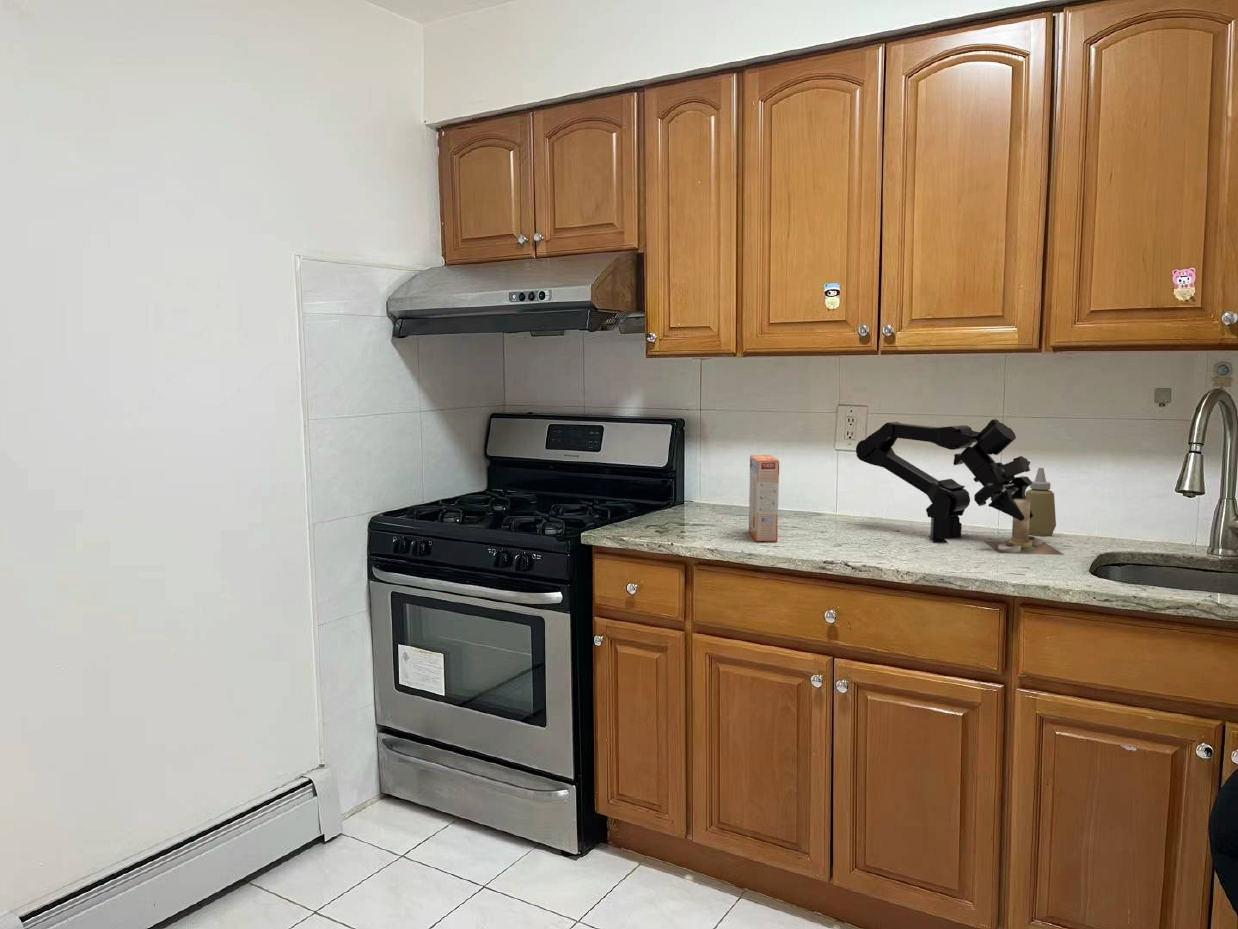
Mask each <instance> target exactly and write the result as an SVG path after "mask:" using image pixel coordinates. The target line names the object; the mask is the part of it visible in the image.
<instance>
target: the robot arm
mask: <svg viewBox="0 0 1238 929" xmlns="http://www.w3.org/2000/svg"><path fill="white" fill-rule="evenodd" d="M1016 436H1017V435H1016V433H1015V432H1014V431H1013V429H1012V428H1011V427H1008V425H1005V424H1004V423H1003V422H1000V421H999V420H998V419H997V418H995V419H991V420H990V421H989V422H988V423H987V425H986V426H985V427H984V428H983V429H982V430H980V431H975V430H973V429H972V427H971V426H969V425H967V424H966V425H965V424H963V425H951V426H950V425H949V426H938V427H937V426H932V425H931V426H930V425H929V426H928V425H921V424H920V425H918V424H911V423H901V422H899V421H891V422H886V423H884V424H883V425H881V427H879V429H877V430H875V431H874V432H873V433H871V434H869V435H868V436H867V437H866V438H865V439H862V440H860V441H859V442H858V443H857V444H856V447H855V452H856V457H857V458H858V460H860V461H861V462H864V463H867V464H869V465H872V466H876V467H880V468H883V469H886V470H887V471H888V472H890V473H892V474H893V475H895V476H896V477H898V478H900V479H901V480H903V481H905V482H906V483H907V484H909V485H910V486H913V487H914V488H915V489H917V490H919V491H921V492H922V493H924V494H925V495H926V496H927V497H928V499H929V501H930V502H931V504H930V505H928V506H927V508H925V511H926V514H927V517H928V518H930V535H928V538H929V540H931V542H932V543H944V544H945V543H946V544H947V543H949V541H947V539H961V538H962V525H963V524H962V522H960V519H961V518H960V517H961V516H963V515H964V512H965V510H966V509H967V508H968V507H969V505H970V502H971V497H970V492H969V491H968V490H967V489H965V488H966V486H965V485H962V484H960V483H958V482H957V481H955V480H954V479H953V478H948V479H941V480H939V479H937V478H935V477H934V476H932V475H930V474H929V473H927V472H926V471H924V470H922V469H920V468H919V467H917V466H916V465H913V464H912V463H910V462H908V461H907V460H906V459H904V458H902V457H900V456H899V455H897V454H896V453H895V451H894V449H893V448H892V447H893V446H894V445H895V443H896V442H897V440H898V439H904V440H910V441H911V440H912V441H918V442H919V441H920V442H928V443H932V444H935V445H936V446H938V447H941V448H944V449H947V450H951V451H954V450H960V449H961V450H962V449H964V450H962V451H961V453H958V452H957V453H954V455H953V456H954V459H953V466H959V465H963V464H964V465H965V467H967V469H968V470H969V471H970V472H971V474H972V475H973V476H974V478H973V481H974V482H975V483H980V484H981V486H983V487H981V488H980V489H979V490H978V491H977V492H975V494H974V496H973V497H974V498H973V499H974V502H975V503H976V504H977V505H978V507H981V506H982V507H983V506H986V505H987V501H988V500H990V501H991V502H990V503H989V504H988V505H987V506H988V507H991V508H993V509H996V510H997V511H1000V512H1002V513H1004V514H1006V515H1008V516H1010V517H1012V518H1013V517H1014V518H1016V519H1018V520H1020V521H1022V520H1024V519H1025V517H1024V515H1023V514H1022V512H1021V511H1020V509H1019V508H1018V506H1017V505H1016V503H1015V502H1014V499H1026V497H1025V494H1026V491H1027V488H1028V487H1030V485H1031V484H1032V480H1031V479H1030V478H1029V476H1025V475H1024V476H1023V475H1021V476H1017V475H1020V474H1022V473H1027V472H1030V471H1031V468H1030V464H1031V462H1030V461H1029V460H1028V458H1026V457H1024V456H1023V455H1021V456H1020V455H1019V456H1018V457H1014V458H1012V459H1013V460H1012V461H1009V462H1007V463H1004V464H1003V463H1002V462H1001V461H999V462H998V461H997V462H996V461H995V459H993V458H992V456H991V455H994V456H998V455H999V454H1001V453H1002V452H1003V451H1004V450H1005V449H1006V448H1007V447H1009V446H1010V444H1012V443H1013V442H1014V440H1016V438H1017V437H1016ZM973 444H974V445H973ZM1016 476H1017V477H1016ZM1032 517H1033V514H1032V511H1031V509H1030V518H1032Z"/></svg>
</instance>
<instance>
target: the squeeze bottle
mask: <svg viewBox="0 0 1238 929" xmlns="http://www.w3.org/2000/svg"><path fill="white" fill-rule="evenodd" d="M1031 481H1032V480H1031ZM1029 488H1030V489H1028V490H1026V491H1025V497H1026V499H1029V500H1030V509H1031V511H1032V514H1033V517H1032V518H1030V521H1029V536H1033V537H1052V536H1053V533H1054V531H1055V529H1056V526H1057V519H1056V505H1055V504H1056V500H1055V493H1054V492H1053V491H1052V490H1051V482H1049V481H1047V480H1046V474H1045V469H1044V467H1038V468H1037V471H1036V475H1035V478H1034V480H1033V481H1032V484H1031V485H1030V486H1029Z"/></svg>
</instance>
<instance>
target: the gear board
mask: <svg viewBox="0 0 1238 929" xmlns="http://www.w3.org/2000/svg"><path fill="white" fill-rule="evenodd" d="M1029 540H1030V541H1032V547H1031V548H1021V546H1019V545H1014V544H1013V543H1008V541H992V540H991V541H989V540H988V541H987V540H986V541H984V540H983V542H984V543H985V544H987V545H988V546H989V547H990V548H992V549H993V550H995V551H996V552H997V553H998V554H1010V555H1011V554H1013V555H1014V554H1016V555H1017V554H1018V555H1019V554H1020V555H1021V554H1022V555H1053V556H1054V555H1062V556H1064V555H1065V554H1064V553H1063V552H1061V551H1060V550H1058V549H1056V548H1054V547H1052V546H1051V545H1050V544H1048V543H1046V542H1043V539H1041V538H1038V537H1036V536H1033V535H1029Z"/></svg>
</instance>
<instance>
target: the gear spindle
mask: <svg viewBox="0 0 1238 929" xmlns="http://www.w3.org/2000/svg"><path fill="white" fill-rule="evenodd" d="M1014 502H1015V503H1016V505H1017V506H1018V508H1019V509H1020V511H1021V512H1022V514H1023V515H1024V517H1025V519H1024V520H1022V521H1020V520H1018V519H1016V518H1014V517H1012V526H1011V530H1012V531H1011V538H1010V539H1008V540H1007V542H1008V543H1013V544H1014V545H1019V546H1021V548H1031V547H1032V541H1030V540H1029V536H1030V535H1029V521H1030V500H1029V499H1014Z"/></svg>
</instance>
